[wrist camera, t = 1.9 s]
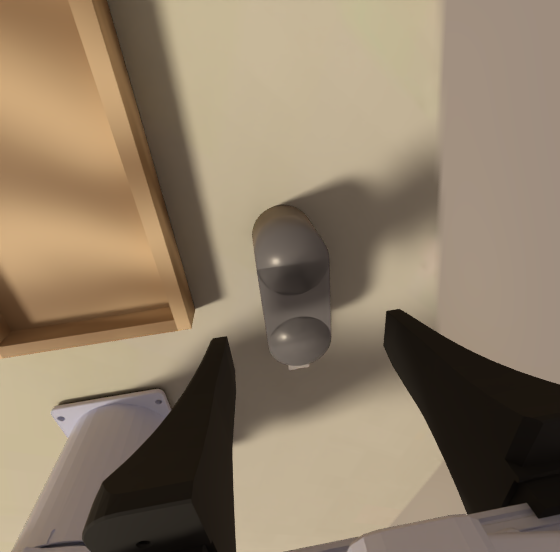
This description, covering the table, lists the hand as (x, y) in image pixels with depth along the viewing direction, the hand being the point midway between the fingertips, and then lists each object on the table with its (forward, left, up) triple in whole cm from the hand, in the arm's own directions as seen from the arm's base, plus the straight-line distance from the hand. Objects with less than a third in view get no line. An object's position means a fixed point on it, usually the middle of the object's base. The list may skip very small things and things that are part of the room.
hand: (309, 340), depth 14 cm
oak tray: (+7, +12, -7) cm, 16 cm away
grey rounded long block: (0, 0, -7) cm, 7 cm away
